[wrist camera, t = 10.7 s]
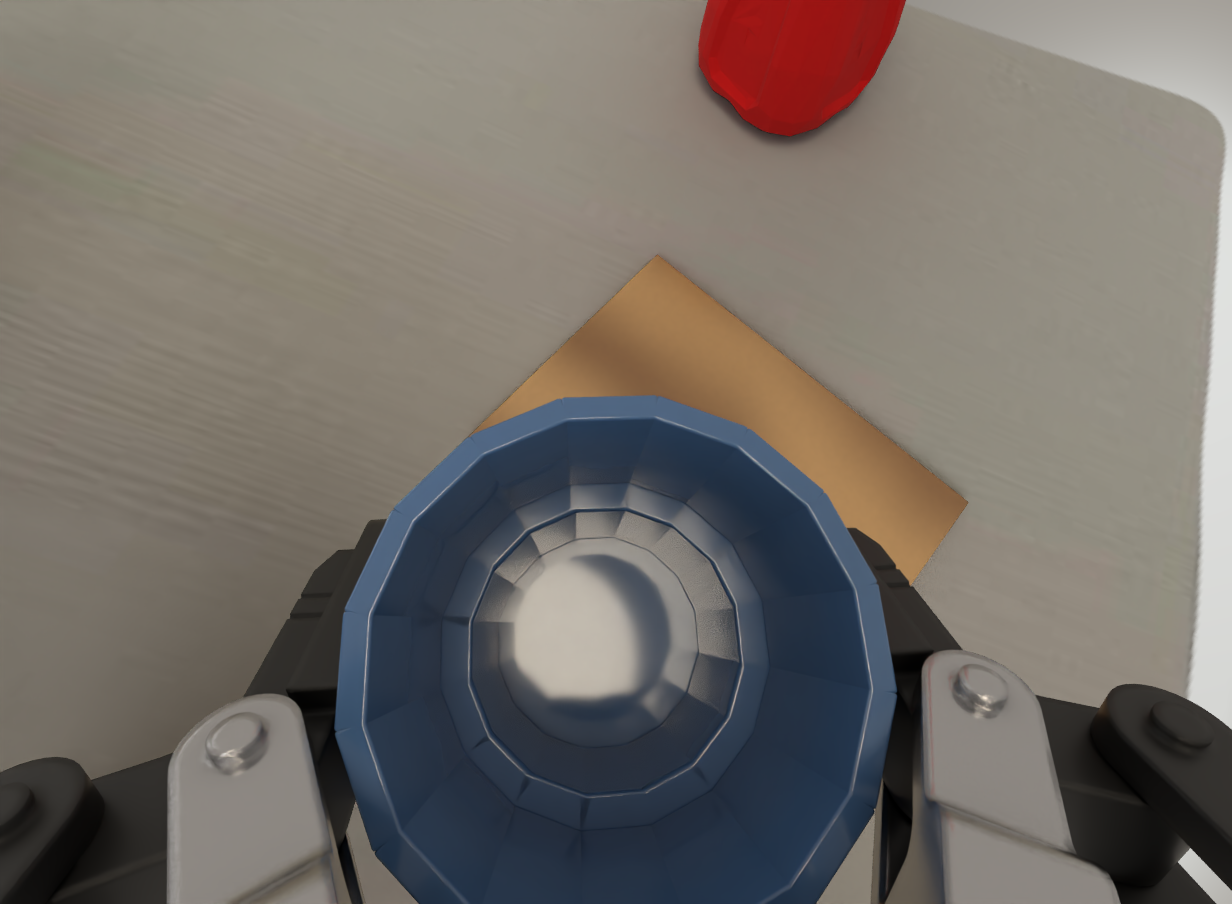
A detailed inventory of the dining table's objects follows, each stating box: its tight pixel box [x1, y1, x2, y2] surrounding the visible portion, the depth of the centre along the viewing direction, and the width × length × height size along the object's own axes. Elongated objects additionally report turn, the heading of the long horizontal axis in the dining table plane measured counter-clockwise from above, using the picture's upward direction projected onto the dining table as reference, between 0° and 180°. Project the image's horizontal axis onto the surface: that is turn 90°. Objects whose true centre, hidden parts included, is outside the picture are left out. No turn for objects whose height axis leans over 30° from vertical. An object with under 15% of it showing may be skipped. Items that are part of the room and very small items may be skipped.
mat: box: [468, 255, 968, 586], centre depth 28 cm, size 14×20×1 cm
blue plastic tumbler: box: [334, 395, 897, 904], centre depth 11 cm, size 6×6×8 cm
